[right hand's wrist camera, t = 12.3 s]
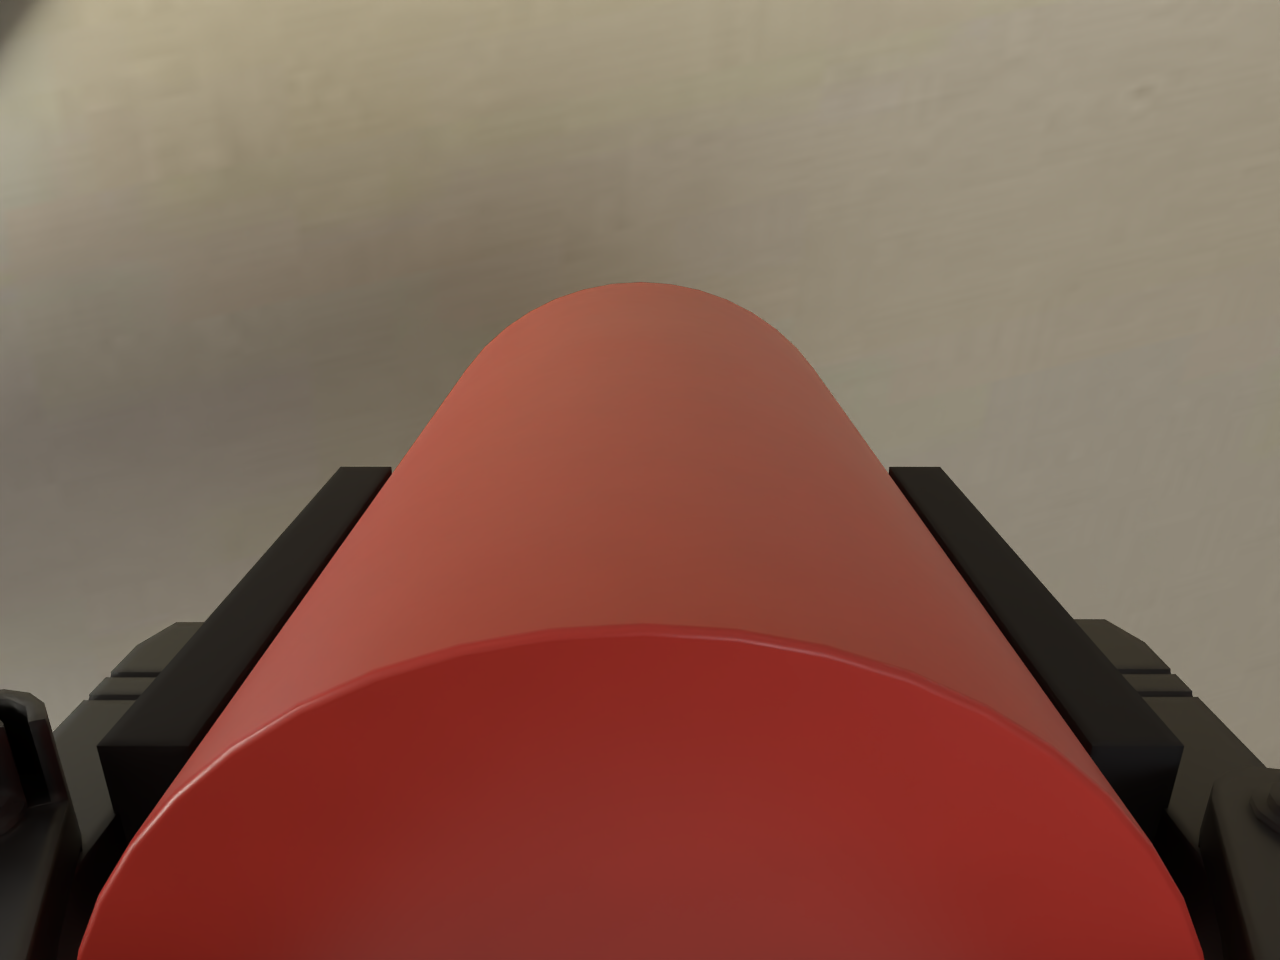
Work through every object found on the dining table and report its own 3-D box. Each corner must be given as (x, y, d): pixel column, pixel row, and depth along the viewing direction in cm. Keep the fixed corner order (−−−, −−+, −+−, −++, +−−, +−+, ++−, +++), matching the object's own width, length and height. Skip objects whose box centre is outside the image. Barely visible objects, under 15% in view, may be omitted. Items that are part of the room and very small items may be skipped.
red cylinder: (726, 195, 14) (941, 370, 4) (913, 559, 17) (1347, 1247, 6) (349, 416, 16) (-197, 964, 5) (571, 725, 18) (481, 1513, 8)
